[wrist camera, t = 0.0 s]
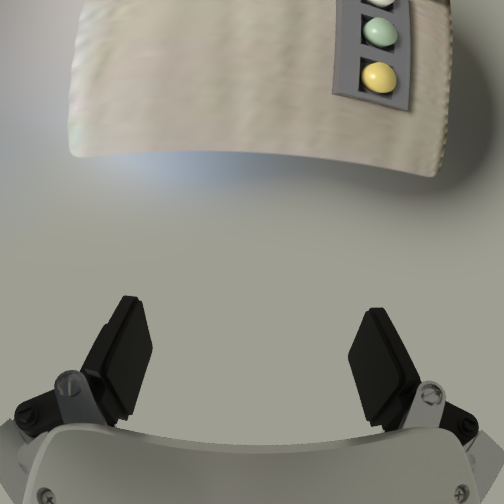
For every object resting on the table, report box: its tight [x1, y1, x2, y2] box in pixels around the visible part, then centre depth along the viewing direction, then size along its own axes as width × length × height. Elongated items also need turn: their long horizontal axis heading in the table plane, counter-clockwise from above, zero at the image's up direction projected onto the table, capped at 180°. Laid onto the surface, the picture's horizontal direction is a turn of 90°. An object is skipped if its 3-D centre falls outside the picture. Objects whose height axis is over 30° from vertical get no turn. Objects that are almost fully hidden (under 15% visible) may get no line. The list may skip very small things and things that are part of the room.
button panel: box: [332, 0, 411, 111], centre depth 26 cm, size 22×11×3 cm, turn 176°
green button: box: [362, 18, 397, 48], centre depth 24 cm, size 4×4×2 cm
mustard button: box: [361, 62, 396, 93], centre depth 28 cm, size 4×4×2 cm
